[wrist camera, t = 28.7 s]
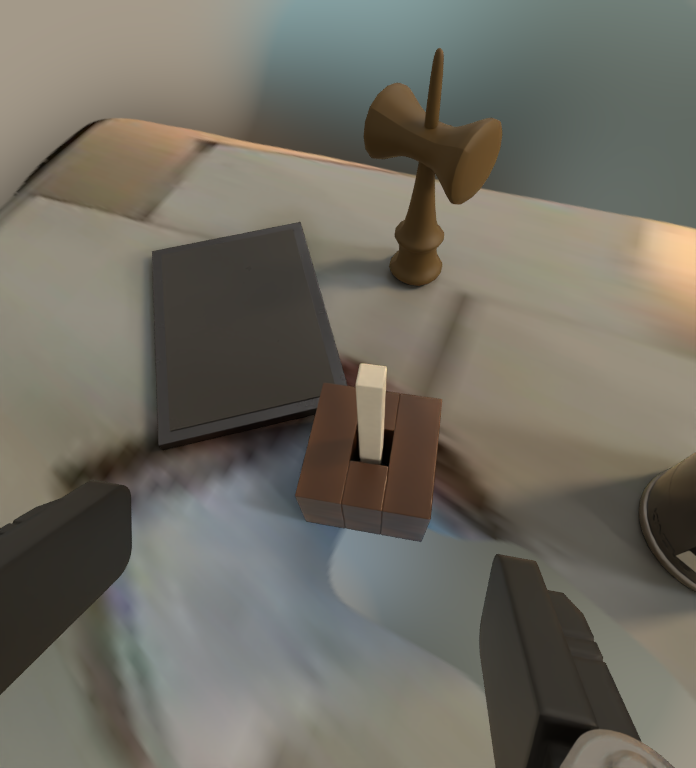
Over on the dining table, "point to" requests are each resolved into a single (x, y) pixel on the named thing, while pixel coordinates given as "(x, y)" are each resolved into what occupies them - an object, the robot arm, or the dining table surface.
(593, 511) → the dining table surface
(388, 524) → the pen stand
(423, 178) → the kendama
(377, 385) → the stylus
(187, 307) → the tablet
